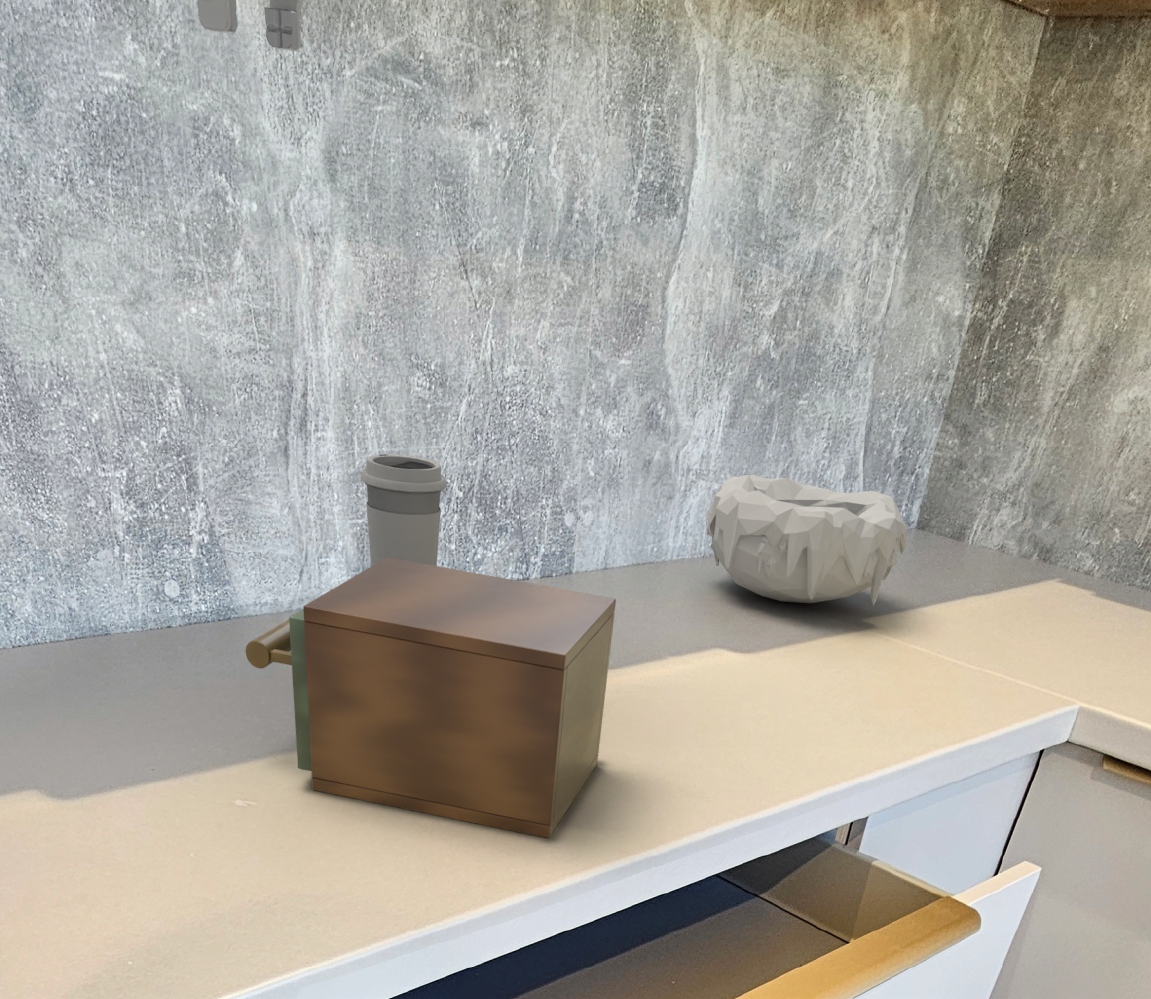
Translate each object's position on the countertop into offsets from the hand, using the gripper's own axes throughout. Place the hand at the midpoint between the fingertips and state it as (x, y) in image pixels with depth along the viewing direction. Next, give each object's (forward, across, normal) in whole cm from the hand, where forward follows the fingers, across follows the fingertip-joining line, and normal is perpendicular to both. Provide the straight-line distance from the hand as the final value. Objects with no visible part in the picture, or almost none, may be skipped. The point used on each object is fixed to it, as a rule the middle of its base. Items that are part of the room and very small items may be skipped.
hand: (253, 41), depth 72 cm
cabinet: (+34, +22, +22) cm, 46 cm away
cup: (+34, -8, +7) cm, 36 cm away
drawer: (+33, +22, +18) cm, 44 cm away
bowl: (+35, -41, +38) cm, 66 cm away
